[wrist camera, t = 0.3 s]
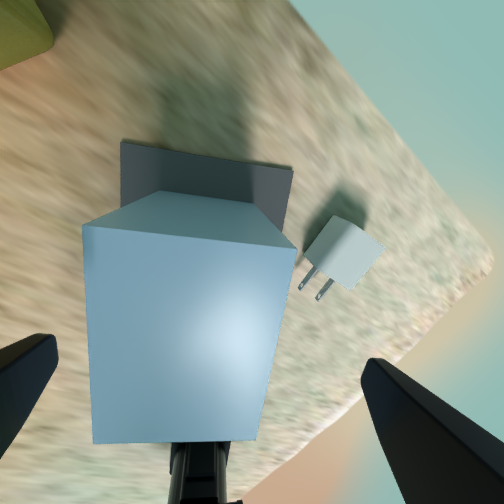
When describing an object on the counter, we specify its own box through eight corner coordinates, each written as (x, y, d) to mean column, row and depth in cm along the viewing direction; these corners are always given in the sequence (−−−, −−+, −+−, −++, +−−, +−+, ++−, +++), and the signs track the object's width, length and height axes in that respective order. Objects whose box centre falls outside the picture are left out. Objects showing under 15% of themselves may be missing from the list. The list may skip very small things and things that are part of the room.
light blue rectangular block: (237, 310, 24) (255, 440, 13) (154, 304, 23) (93, 444, 11) (253, 203, 21) (297, 249, 10) (159, 190, 20) (81, 225, 8)
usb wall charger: (362, 236, 24) (389, 250, 20) (316, 294, 25) (334, 317, 21) (330, 213, 22) (353, 223, 19) (284, 274, 24) (297, 295, 20)
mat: (260, 335, 26) (261, 338, 25) (122, 329, 23) (121, 331, 23) (292, 170, 21) (293, 170, 20) (122, 142, 19) (120, 141, 18)
